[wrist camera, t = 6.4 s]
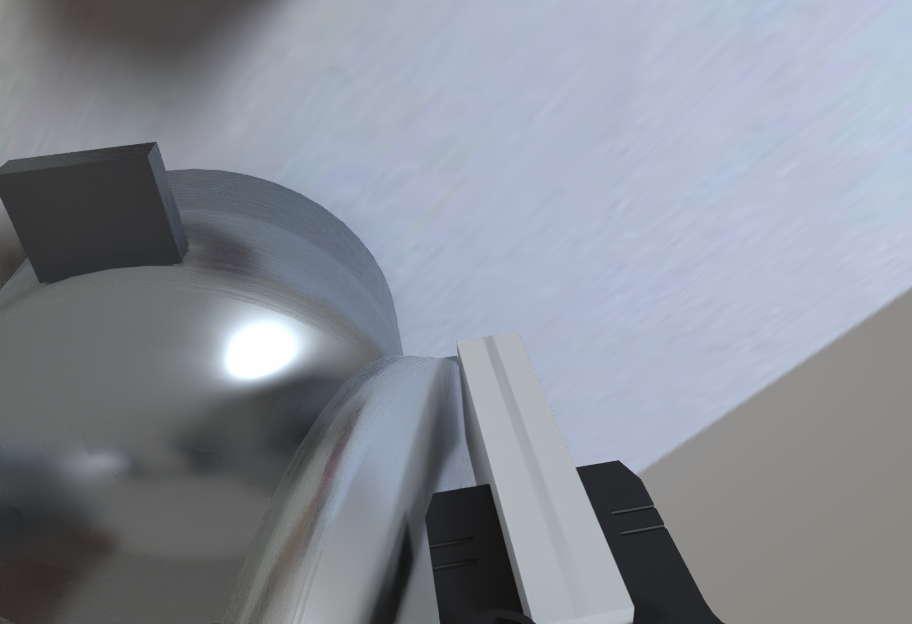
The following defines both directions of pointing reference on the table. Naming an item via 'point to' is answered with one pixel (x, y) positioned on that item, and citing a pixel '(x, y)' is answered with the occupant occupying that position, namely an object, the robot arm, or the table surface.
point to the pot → (162, 376)
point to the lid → (360, 504)
